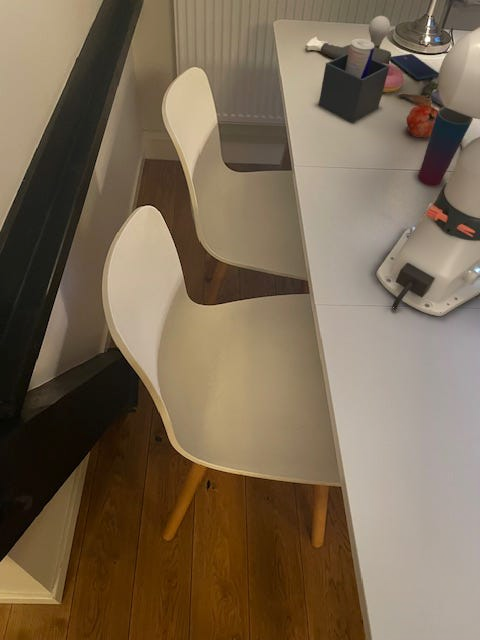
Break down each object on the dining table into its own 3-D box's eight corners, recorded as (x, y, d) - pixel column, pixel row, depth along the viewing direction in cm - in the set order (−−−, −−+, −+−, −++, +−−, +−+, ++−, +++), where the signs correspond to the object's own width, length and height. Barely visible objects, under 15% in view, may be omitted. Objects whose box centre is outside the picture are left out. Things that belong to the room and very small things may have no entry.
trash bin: (352, 123, 124) (362, 80, 116) (318, 105, 129) (325, 63, 121) (378, 108, 130) (389, 66, 121) (344, 91, 134) (353, 50, 126)
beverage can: (359, 111, 127) (374, 49, 115) (337, 108, 127) (350, 46, 116) (360, 101, 130) (375, 39, 119) (339, 97, 131) (351, 36, 119)
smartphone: (440, 76, 140) (411, 55, 149) (441, 73, 140) (412, 52, 149) (417, 80, 138) (389, 58, 148) (417, 77, 138) (389, 56, 147)
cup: (423, 190, 108) (449, 125, 97) (408, 171, 113) (431, 107, 101) (450, 186, 110) (479, 122, 98) (435, 167, 114) (461, 104, 102)
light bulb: (386, 52, 151) (395, 16, 143) (378, 59, 147) (388, 22, 140) (368, 47, 152) (376, 10, 145) (360, 54, 149) (368, 17, 141)
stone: (401, 93, 135) (396, 99, 134) (402, 88, 134) (397, 94, 133) (433, 103, 131) (428, 109, 130) (435, 98, 130) (429, 104, 129)
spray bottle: (379, 75, 141) (300, 54, 148) (392, 60, 147) (315, 41, 154) (382, 64, 138) (301, 44, 146) (394, 50, 145) (316, 31, 152)
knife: (451, 74, 144) (441, 72, 146) (453, 70, 143) (443, 67, 145) (426, 99, 133) (415, 96, 134) (428, 94, 132) (417, 91, 133)
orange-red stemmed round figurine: (395, 137, 125) (413, 132, 116) (401, 106, 124) (419, 98, 114) (423, 141, 126) (443, 136, 117) (430, 110, 125) (450, 103, 115)
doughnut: (353, 82, 137) (356, 67, 134) (378, 71, 142) (382, 56, 139) (385, 98, 132) (389, 83, 129) (409, 86, 137) (414, 71, 134)
